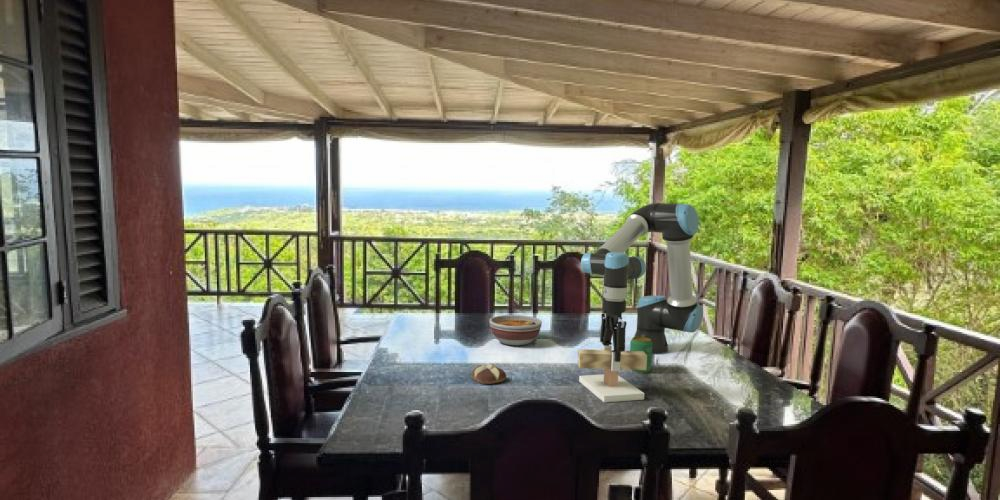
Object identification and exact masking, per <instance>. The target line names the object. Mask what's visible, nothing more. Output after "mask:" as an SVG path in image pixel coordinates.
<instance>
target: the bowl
mask: <svg viewBox="0 0 1000 500" xmlns="http://www.w3.org/2000/svg"><path fill="white" fill-rule="evenodd" d="M542 323H543V322H542V320H541V319H539V318H537V317H534V316H529V315H521V314H505V315H497V316H493V317H491V318H489V327H490V330H491V332H492V334H493V336H494V337H495V339H496V340H498V341H499V342H500V343H501V344H504V345H508V346H525V345H528V344H530V343H532V342H533V341H534V340H535V339H536V338H537V337H538V335H539V334H540V331H541V329H542Z"/></svg>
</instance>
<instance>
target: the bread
mask: <svg viewBox="0 0 1000 500" xmlns="http://www.w3.org/2000/svg"><path fill="white" fill-rule="evenodd" d="M506 378H507V374H506V372H505V371H504V369H502V368H500V367H498V366H497V365H495V364H494V363H489V364H487V365H484V364H480V365H478V366H476V367H475V368H474V369H473V370H472V372H471V379H472V380H474V381H475V382H476V383H478V384H481V385H492V384H493V385H494V384H498V383H501V382H504V381H505V380H506Z"/></svg>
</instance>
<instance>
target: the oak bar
mask: <svg viewBox="0 0 1000 500" xmlns="http://www.w3.org/2000/svg"><path fill="white" fill-rule="evenodd" d="M612 350H613V349H611V350H603V349H587V348H586V349H583V348H578V349H577V365H578V366H577V367H578V368H579V369H595V370H596V369H598V370H604V369H611V365H612ZM646 368H647V355H646V353H645V352H644V351H630V350H625V351H623V352H621V357H620V370H625V371H626V370H627V371H628V370H629V371H631V370H646Z"/></svg>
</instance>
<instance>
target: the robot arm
mask: <svg viewBox="0 0 1000 500" xmlns="http://www.w3.org/2000/svg"><path fill="white" fill-rule="evenodd" d="M698 231H699V215H698V211H697V210H696V208H695V207H694V206H693V205H692V204H688V203H687V204H686V203H680V202H679V203H674V202H673V203H669V202H667V203H665V202H663V203H660V202H653V203H649V204H646V205H643V206H641V207H639V208H638V209H636V210H635V211H633V212H632V213H630V215H629V216H628V217H627V218H626V220H625V223H624V224H622V226H620V228H619V229H617V231H615V233H614V234H613V235H611V236H610V237H609V238H608V239H607V240H606V241H605V242H604V243H603V244H602V245H601V246H600V247H599V248H598V249H597V250H596V251H595V252H585V253H584V254H582V257H581V260H580V267H581V270H582V272H583V273H586V274H590V275H593V276H604V278H603V279H604V280H603V281H604V283H603V289H602V292H603V300H602V311H604V312H605V313H601V325H600V339H599V341H600V342H601V343H602V345H603V349H602V350H612V365H611V371H618V372H620V370H621V369H620V357H621V352H623V351H626V330H627V329H626V328H627V321H626V320H625V321H624V320H623V315H622V314H623V313H625V312H626V311H627V294H628V293H627V292H628V280H632V279H634V280H636V279H639V278H641V277H642V276H643V275H645V274H646V270H647V265H646V262H645V261H644V259H643V258H642V257H640V256H635V255H634V256H629V254H628V253H625V252H626V251H627V250H628V249H629V248H630V247H631V246H632V245H633V244H634V243H635V242H636V241H637V240H638V239H639V238H640V237H643V236H645V235H646V234H648V233H658V234H659V233H661V235H662V240H663V241H664V242H665V243H666V249H667V263H668V265H667V266H668V276H669V277H668V278H669V291H670V295H669V297H668V298H667V296H665V295H646V296H645V295H644V296H641V297H640V298H638V302H637V307H636V308H637V312H636V313H637V314H636V315H637V317H636V331H635V333H634V336H633V337H646V338H649V339H651V342H652V353H654V354H655V355H656V354H658V353H660V354H665V353H667V352H668V351H669V344H668V340H667V338H666V334H665V333H666V332H665V330H666V329H669V330H675V331H679V332H683V333H696V332H697V330H698V329H699V328H700V326H701V324H702V321H703V315H704V308H703V306H702V305H701V304H698V299H697V297H695V296H694V294H693V279H692V277H693V276H692V261H691V259H692V258H691V244H690V243H691V242H690V241H691V240H693V238H694V235H695V234H697V233H698ZM612 346H613V349H612ZM658 355H659V354H658Z"/></svg>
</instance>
